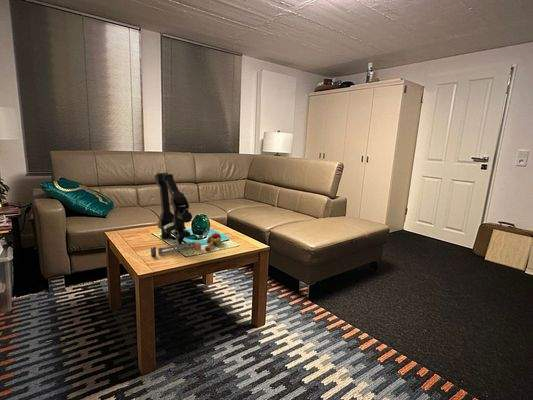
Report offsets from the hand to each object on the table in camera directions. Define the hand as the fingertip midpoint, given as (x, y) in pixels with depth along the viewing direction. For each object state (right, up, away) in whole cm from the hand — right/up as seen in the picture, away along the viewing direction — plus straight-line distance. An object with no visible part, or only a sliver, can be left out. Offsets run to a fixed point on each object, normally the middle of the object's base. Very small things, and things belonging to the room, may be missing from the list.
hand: (179, 244), depth 163 cm
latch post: (+11, -2, -4) cm, 12 cm away
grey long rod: (+1, -2, -8) cm, 8 cm away
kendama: (+18, -2, +2) cm, 18 cm away
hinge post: (-9, -4, -15) cm, 18 cm away
